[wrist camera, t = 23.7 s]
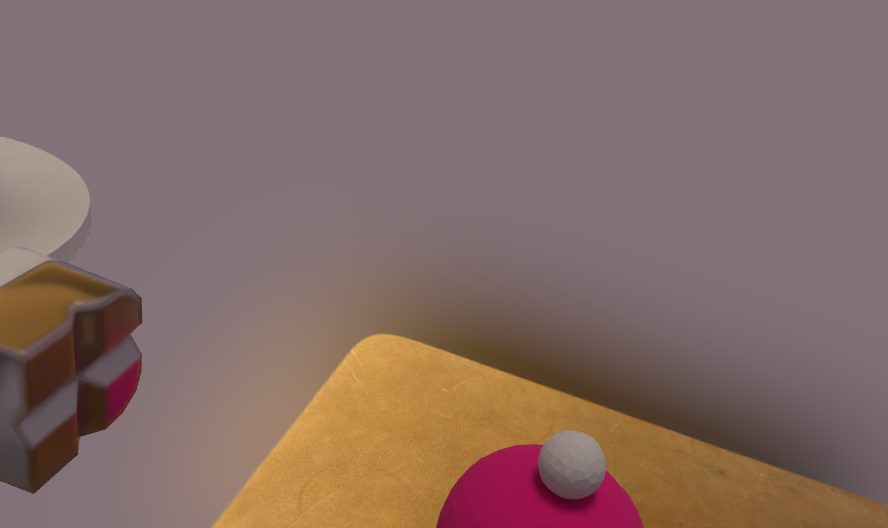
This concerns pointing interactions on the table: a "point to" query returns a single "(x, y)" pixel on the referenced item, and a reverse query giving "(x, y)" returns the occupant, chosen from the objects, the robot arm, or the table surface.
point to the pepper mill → (541, 489)
